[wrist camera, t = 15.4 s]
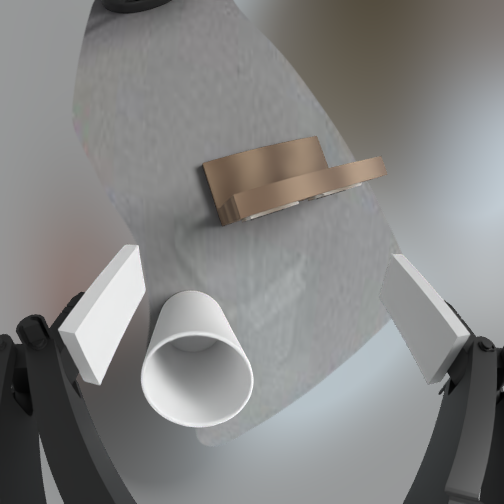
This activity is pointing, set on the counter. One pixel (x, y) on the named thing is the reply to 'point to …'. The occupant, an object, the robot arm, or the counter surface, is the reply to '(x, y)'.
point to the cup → (195, 363)
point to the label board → (280, 178)
